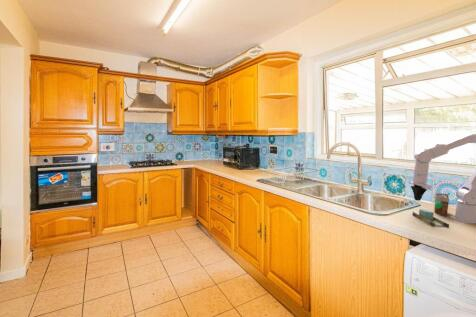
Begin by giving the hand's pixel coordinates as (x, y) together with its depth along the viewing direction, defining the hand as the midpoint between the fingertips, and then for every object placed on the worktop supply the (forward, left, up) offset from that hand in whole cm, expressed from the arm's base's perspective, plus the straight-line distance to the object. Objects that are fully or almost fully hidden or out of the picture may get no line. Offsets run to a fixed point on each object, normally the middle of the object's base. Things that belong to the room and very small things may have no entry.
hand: (417, 200), depth 127 cm
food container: (-14, -4, -8) cm, 17 cm away
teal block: (0, +8, -7) cm, 10 cm away
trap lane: (0, +10, -8) cm, 13 cm away
